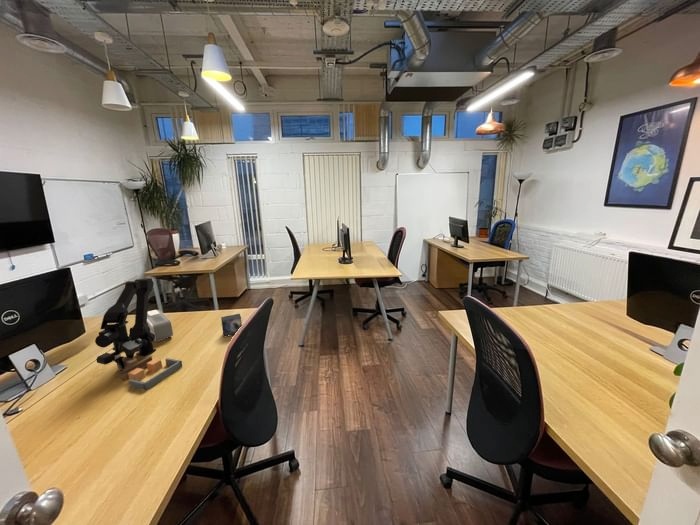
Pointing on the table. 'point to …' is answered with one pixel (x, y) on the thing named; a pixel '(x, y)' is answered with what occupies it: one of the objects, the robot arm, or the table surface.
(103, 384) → the table surface
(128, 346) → the robot arm
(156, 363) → the orange cube
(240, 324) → the small box
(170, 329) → the light grey rounded block
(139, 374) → the chip
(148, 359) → the brown angular piece
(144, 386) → the tray
